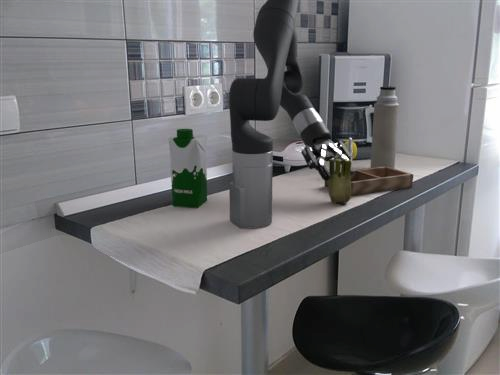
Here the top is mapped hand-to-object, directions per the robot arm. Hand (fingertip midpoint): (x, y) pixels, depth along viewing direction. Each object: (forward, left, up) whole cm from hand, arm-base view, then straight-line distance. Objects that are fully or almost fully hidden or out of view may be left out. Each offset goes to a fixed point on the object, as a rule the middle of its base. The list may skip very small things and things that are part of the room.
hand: (340, 177), depth 131 cm
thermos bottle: (+36, +25, -7) cm, 44 cm away
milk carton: (-36, +17, -7) cm, 40 cm away
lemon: (+34, +41, -7) cm, 54 cm away
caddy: (+17, +9, -7) cm, 20 cm away
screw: (+19, +21, -7) cm, 29 cm away
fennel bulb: (0, 0, -7) cm, 7 cm away
